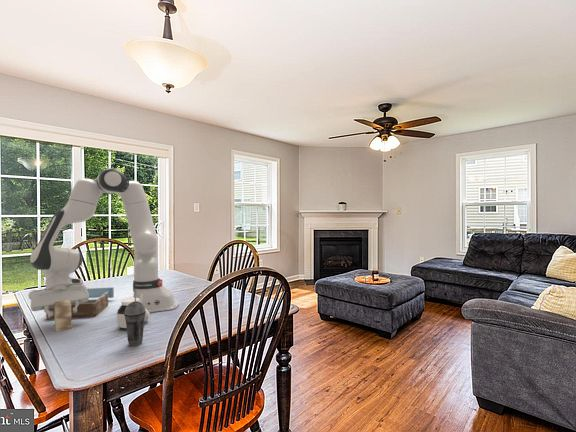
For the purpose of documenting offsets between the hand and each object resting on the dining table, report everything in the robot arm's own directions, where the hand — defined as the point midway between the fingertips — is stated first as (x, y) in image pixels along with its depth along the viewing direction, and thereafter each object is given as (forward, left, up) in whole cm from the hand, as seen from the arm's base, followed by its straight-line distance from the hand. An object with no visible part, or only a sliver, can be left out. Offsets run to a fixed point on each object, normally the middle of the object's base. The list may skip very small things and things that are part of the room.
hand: (63, 314), depth 132 cm
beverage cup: (-33, +22, -6) cm, 40 cm away
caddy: (+2, -23, -6) cm, 23 cm away
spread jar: (-28, +2, -6) cm, 28 cm away
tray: (+2, -33, -4) cm, 33 cm away
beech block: (0, -1, -6) cm, 6 cm away
